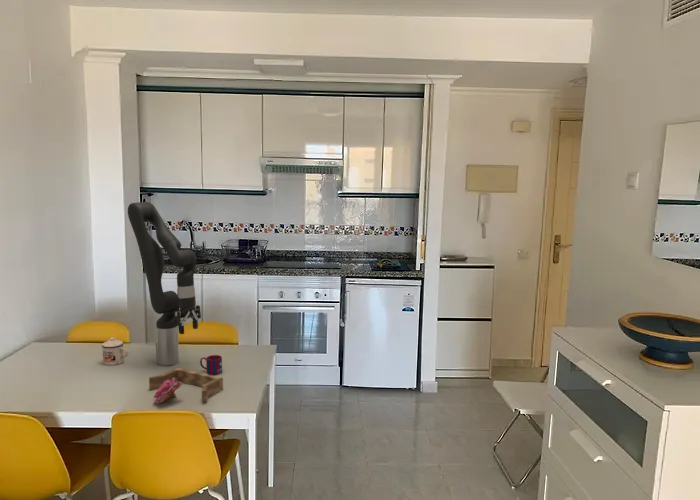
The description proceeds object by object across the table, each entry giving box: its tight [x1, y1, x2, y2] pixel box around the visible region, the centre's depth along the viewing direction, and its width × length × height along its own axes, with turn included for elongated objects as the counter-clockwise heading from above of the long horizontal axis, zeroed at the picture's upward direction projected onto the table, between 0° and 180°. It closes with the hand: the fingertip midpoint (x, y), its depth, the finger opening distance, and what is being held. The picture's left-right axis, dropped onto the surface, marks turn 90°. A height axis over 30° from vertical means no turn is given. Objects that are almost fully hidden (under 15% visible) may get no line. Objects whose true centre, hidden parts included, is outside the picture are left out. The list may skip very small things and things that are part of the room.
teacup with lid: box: [101, 337, 129, 366], centre depth 243 cm, size 12×9×12 cm
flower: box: [153, 378, 183, 404], centre depth 203 cm, size 11×10×10 cm
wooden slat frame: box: [148, 367, 224, 404], centre depth 214 cm, size 29×14×5 cm, turn 65°
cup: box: [199, 354, 223, 376], centre depth 234 cm, size 7×10×7 cm
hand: (188, 331), depth 235 cm, fingers open, 8 cm apart
